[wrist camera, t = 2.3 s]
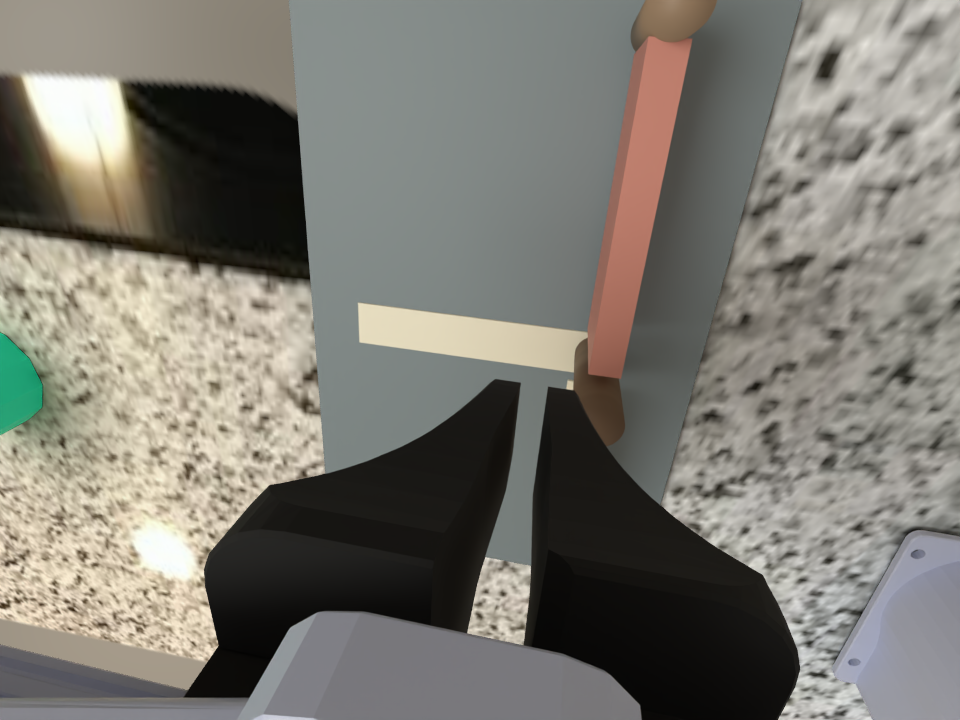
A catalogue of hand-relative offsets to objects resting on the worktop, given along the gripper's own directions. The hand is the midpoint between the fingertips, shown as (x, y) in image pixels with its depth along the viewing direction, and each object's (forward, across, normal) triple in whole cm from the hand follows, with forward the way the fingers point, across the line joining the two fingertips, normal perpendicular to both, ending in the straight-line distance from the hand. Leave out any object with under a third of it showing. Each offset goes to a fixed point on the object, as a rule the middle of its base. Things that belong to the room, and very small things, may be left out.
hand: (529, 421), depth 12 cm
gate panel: (+9, -2, -4) cm, 10 cm away
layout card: (+9, +2, +2) cm, 10 cm away
